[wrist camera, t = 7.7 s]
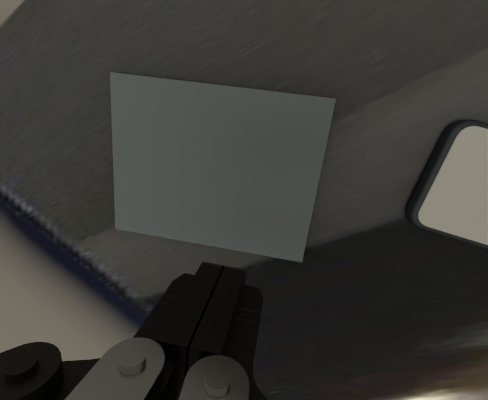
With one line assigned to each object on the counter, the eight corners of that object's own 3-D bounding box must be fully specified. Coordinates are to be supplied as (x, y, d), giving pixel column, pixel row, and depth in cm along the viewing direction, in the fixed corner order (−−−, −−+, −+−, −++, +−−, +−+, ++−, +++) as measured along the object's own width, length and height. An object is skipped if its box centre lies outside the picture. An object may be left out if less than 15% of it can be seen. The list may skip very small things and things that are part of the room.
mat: (334, 99, 22) (336, 98, 21) (301, 256, 27) (302, 262, 26) (116, 73, 24) (109, 72, 23) (121, 224, 29) (115, 228, 28)
